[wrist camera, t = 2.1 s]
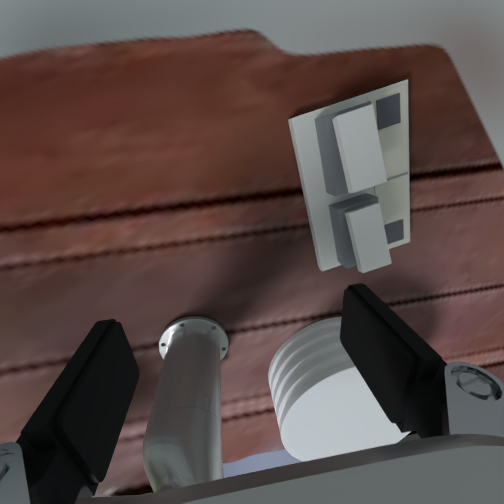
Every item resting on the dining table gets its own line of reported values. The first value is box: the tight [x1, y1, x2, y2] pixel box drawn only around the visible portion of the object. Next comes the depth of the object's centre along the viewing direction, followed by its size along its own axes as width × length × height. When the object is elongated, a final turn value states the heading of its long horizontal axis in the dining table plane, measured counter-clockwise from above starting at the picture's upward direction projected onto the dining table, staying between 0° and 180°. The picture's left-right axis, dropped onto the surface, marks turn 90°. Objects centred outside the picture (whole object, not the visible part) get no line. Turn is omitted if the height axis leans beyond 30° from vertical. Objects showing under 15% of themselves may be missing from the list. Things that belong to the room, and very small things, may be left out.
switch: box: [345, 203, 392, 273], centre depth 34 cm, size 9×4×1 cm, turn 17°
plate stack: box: [268, 317, 411, 462], centre depth 48 cm, size 28×28×12 cm
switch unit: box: [288, 79, 410, 271], centre depth 35 cm, size 24×16×4 cm, turn 17°
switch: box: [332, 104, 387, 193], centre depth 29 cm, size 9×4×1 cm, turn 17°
